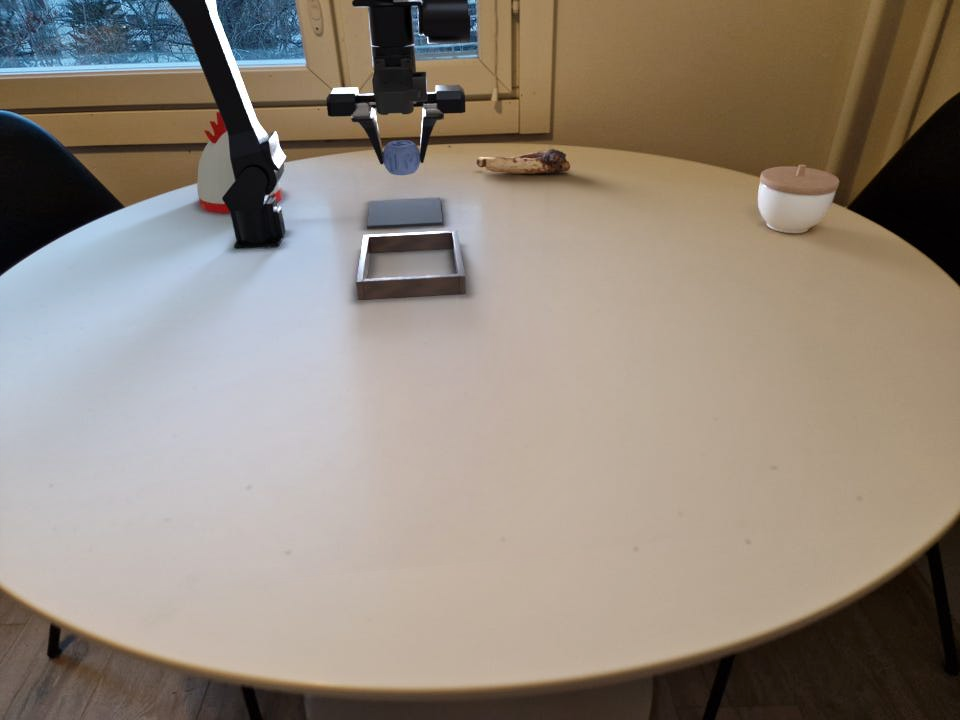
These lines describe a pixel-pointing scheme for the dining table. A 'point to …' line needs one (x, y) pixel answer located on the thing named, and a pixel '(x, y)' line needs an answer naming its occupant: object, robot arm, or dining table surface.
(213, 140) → the kitchen timer
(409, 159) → the decorative dice
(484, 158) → the overripe banana
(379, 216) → the mat
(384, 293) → the rectangular frame
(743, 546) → the dining table surface
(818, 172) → the trinket box
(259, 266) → the dining table surface
